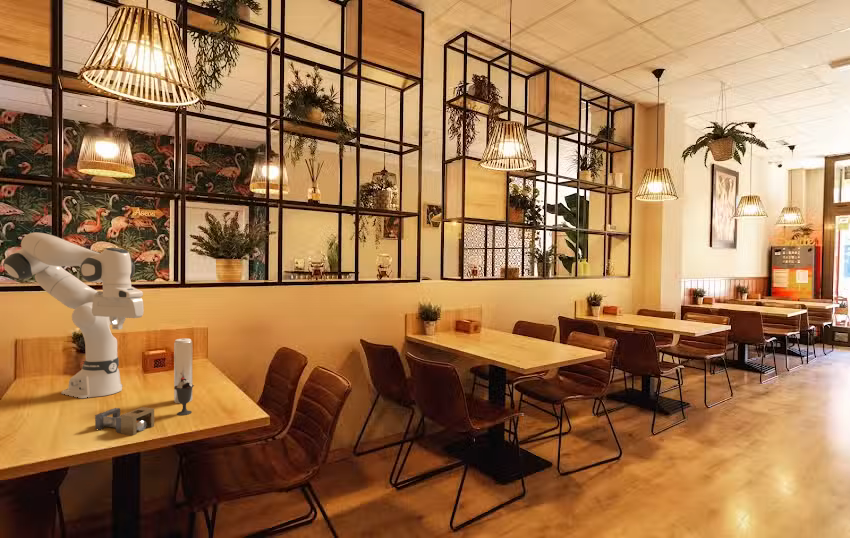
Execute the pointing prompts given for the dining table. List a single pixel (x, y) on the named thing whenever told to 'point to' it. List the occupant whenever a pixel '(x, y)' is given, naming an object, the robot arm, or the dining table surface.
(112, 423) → the tube
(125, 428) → the aperture bridge
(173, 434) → the dining table surface
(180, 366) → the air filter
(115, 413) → the collar
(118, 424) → the collar
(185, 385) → the sundae
